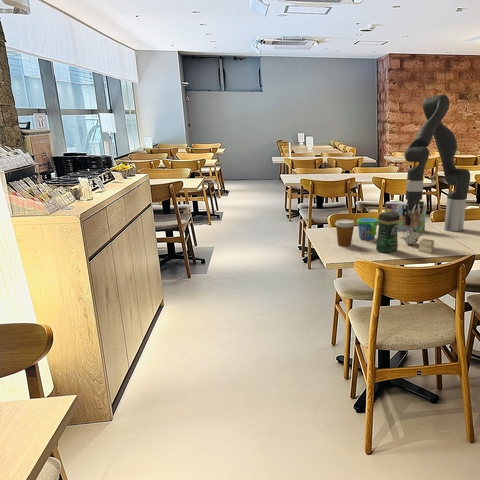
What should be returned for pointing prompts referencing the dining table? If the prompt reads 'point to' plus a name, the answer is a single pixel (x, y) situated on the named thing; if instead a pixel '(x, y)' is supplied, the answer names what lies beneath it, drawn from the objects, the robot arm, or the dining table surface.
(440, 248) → the dining table surface
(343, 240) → the disposable coffee cup
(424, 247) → the maple block
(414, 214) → the walnut block
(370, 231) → the snack cup
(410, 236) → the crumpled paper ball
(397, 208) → the snack box
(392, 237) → the coffee jar
